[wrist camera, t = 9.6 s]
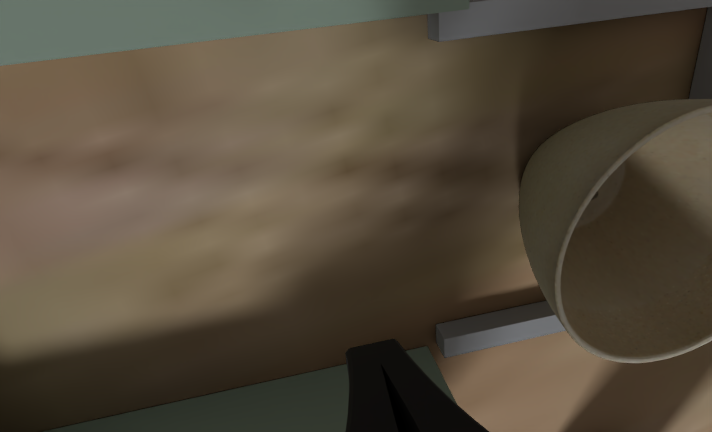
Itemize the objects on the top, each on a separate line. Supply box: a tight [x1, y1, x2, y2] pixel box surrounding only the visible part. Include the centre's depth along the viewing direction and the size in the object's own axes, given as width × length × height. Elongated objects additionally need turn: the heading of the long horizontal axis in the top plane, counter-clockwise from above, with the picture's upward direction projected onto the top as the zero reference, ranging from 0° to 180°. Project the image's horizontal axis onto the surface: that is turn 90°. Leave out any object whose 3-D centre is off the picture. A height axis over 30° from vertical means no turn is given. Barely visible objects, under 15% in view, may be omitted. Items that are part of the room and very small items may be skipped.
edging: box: [428, 0, 712, 358], centre depth 22 cm, size 16×14×1 cm
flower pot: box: [519, 99, 712, 363], centre depth 20 cm, size 10×10×7 cm
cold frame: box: [0, 0, 469, 432], centre depth 18 cm, size 20×23×5 cm
